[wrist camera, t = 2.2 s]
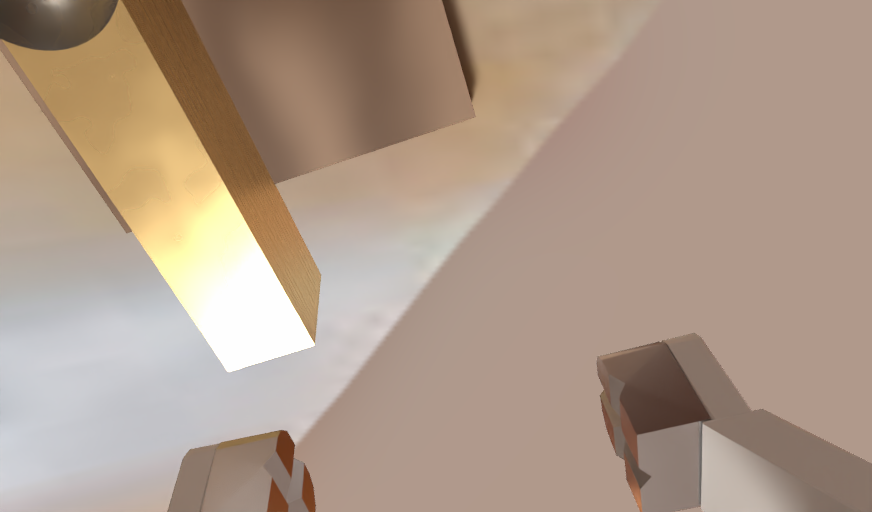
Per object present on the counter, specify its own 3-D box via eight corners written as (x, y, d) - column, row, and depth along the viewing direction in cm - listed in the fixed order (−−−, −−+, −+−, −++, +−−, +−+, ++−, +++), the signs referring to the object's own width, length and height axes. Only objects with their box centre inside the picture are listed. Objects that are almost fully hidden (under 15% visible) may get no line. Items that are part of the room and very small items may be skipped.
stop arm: (-29, -121, 17) (-128, -111, 13) (112, -177, 16) (48, -180, 13) (234, 302, 24) (214, 376, 21) (333, 271, 24) (329, 340, 21)
